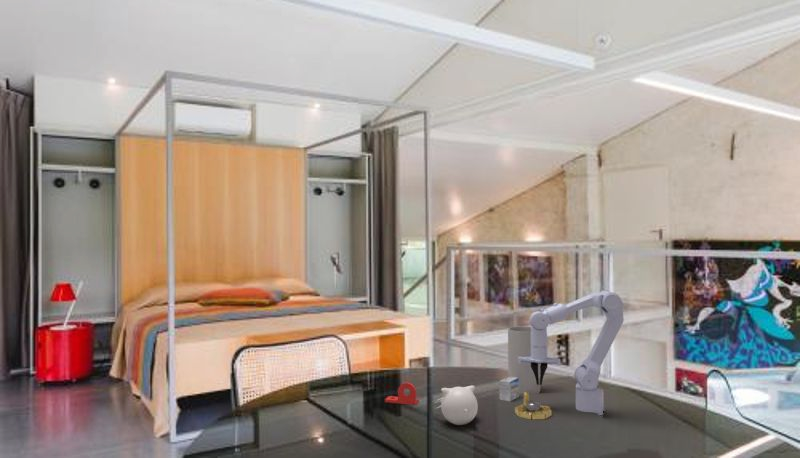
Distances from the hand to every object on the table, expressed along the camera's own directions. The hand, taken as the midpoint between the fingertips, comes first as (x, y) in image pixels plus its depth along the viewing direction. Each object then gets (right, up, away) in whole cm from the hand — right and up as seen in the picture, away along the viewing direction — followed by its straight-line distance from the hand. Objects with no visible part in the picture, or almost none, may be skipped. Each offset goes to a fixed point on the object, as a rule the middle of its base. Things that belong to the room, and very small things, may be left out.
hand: (539, 384), depth 199 cm
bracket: (-49, -11, +13) cm, 52 cm away
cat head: (-30, -10, -12) cm, 34 cm away
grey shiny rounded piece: (-4, -10, -7) cm, 12 cm away
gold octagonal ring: (-4, -8, -5) cm, 11 cm away
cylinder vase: (0, -10, +26) cm, 28 cm away
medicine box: (-8, -10, +12) cm, 18 cm away
